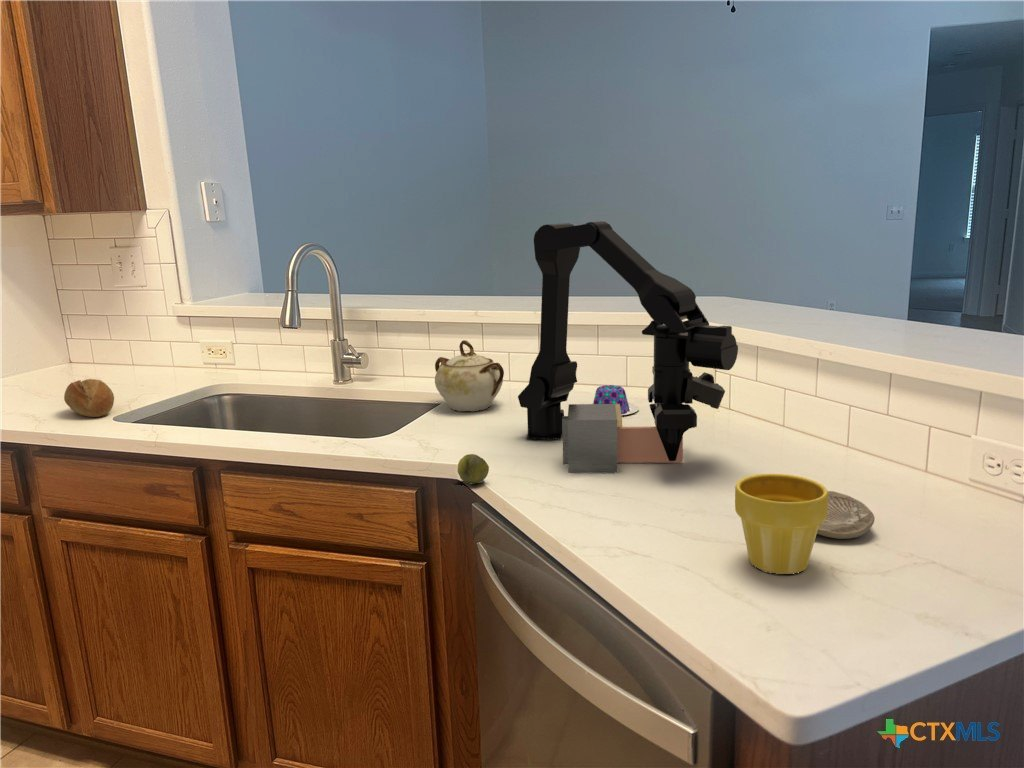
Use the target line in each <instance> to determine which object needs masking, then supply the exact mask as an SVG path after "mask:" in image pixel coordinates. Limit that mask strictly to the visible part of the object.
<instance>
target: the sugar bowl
mask: <svg viewBox="0 0 1024 768" xmlns="http://www.w3.org/2000/svg"><path fill="white" fill-rule="evenodd" d="M464 346H467V347H468V348H469V351H468V352H465V350H464ZM459 351H460V352H459V353H460V354H459V355H457V356H454V357H452V358H450V359H449V358H446V357H443V356H440V357H438V358H436V360H435V363H434V368H435V372H436V373H435V377H434V384H435V385H434V386H435V388H436V390H437V391H438V393H439V395H440V396H441V397H442V399H443V400H444V401H445V402H446V403H447V405H448V406H449V407H450V409H451V408H452V409H453V411H455V410H457V411H456V412H461V411H471V412H479V410H480V411H483V410H487V409H488V407H489V408H490V407H491V405H492V403H493V401H494V400H495V398H496V397H497V395H498V393H499V392H500V390H501V388H502V386H503V382H504V376H505V371H504V368H503V366H502V364H501V363H499V362H494V360H493V359H492V358H489V357H486V356H483V355H480V354H477V353H476V352H474V351H475V350H474V347H473V345H472V344H471V343H470V342H469V341H468V340H461V342H460V344H459ZM452 409H451V410H452Z"/></svg>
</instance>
